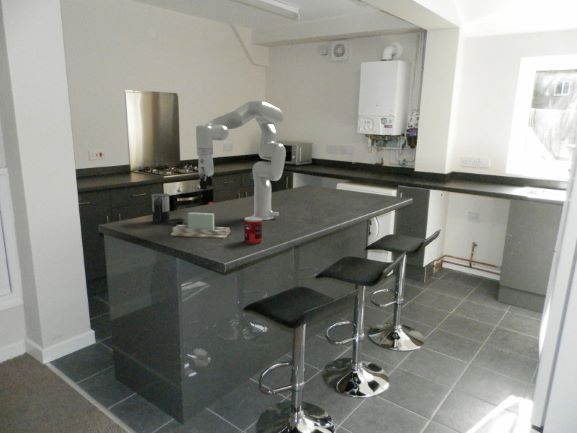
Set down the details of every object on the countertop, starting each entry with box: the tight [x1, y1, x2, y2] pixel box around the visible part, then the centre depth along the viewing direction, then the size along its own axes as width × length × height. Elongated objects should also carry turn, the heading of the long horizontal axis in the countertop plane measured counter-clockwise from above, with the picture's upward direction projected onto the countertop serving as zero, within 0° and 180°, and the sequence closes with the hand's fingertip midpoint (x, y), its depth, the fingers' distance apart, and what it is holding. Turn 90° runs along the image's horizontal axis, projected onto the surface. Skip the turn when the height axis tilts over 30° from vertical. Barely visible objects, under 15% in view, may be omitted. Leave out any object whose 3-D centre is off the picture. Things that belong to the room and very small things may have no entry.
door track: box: [170, 224, 232, 239], centre depth 201 cm, size 26×12×3 cm, turn 84°
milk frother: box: [150, 193, 185, 225], centre depth 219 cm, size 14×16×15 cm
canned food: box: [243, 216, 263, 245], centre depth 189 cm, size 8×8×11 cm
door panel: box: [187, 212, 215, 230], centre depth 200 cm, size 12×3×9 cm, turn 84°
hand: (206, 187), depth 202 cm, fingers open, 9 cm apart
